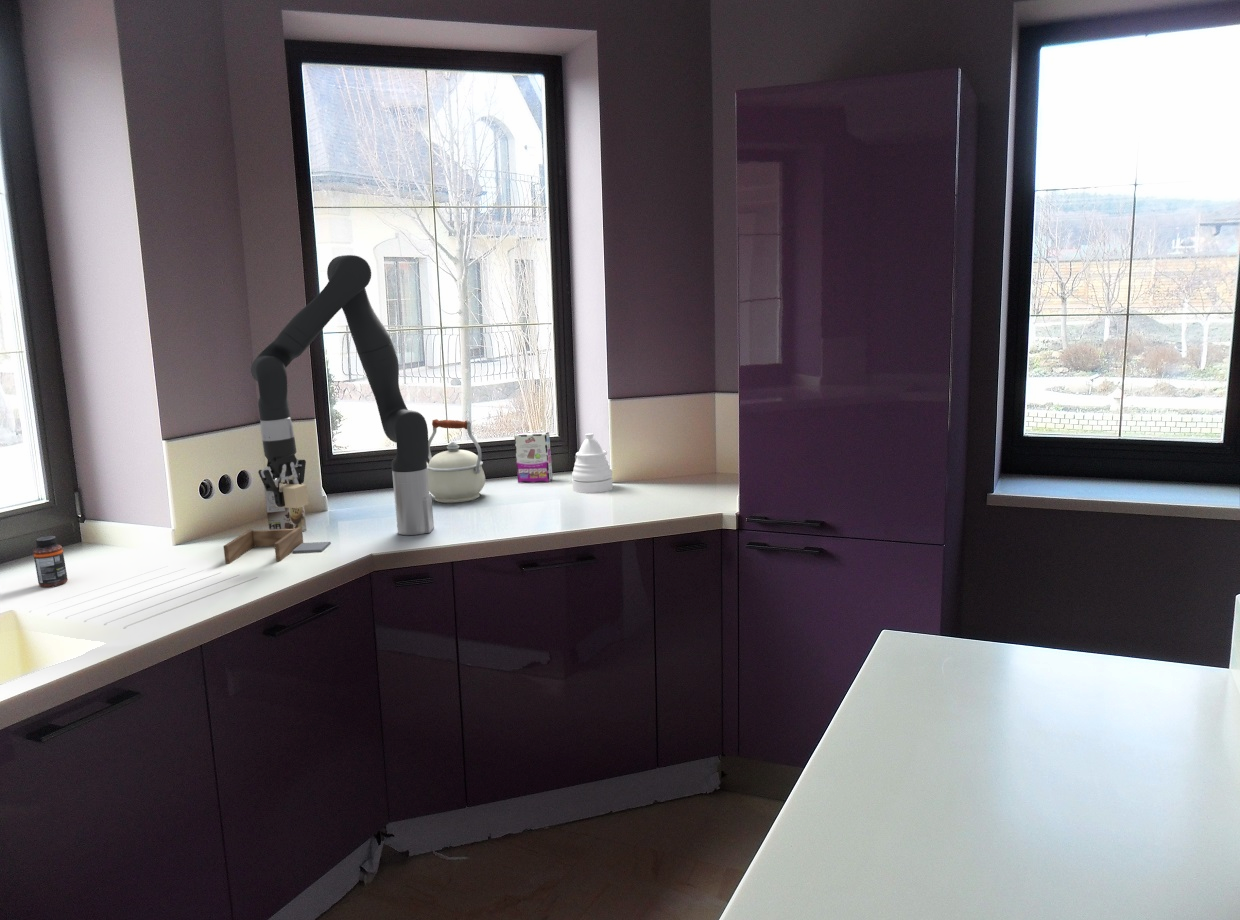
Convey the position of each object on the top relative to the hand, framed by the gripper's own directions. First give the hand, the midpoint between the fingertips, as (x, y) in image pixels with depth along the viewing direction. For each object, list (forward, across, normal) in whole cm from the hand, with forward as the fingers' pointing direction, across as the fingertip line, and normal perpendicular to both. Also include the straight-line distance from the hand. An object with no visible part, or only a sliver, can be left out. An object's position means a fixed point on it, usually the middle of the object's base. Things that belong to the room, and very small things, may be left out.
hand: (288, 503), depth 233 cm
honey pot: (+17, +90, -38) cm, 99 cm away
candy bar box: (+16, +96, -13) cm, 99 cm away
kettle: (+15, +67, 0) cm, 69 cm away
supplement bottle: (+12, -37, +40) cm, 56 cm away
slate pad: (+13, +6, 0) cm, 15 cm away
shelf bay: (+13, -2, +9) cm, 16 cm away
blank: (0, 0, -2) cm, 2 cm away
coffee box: (+14, +16, +18) cm, 28 cm away
